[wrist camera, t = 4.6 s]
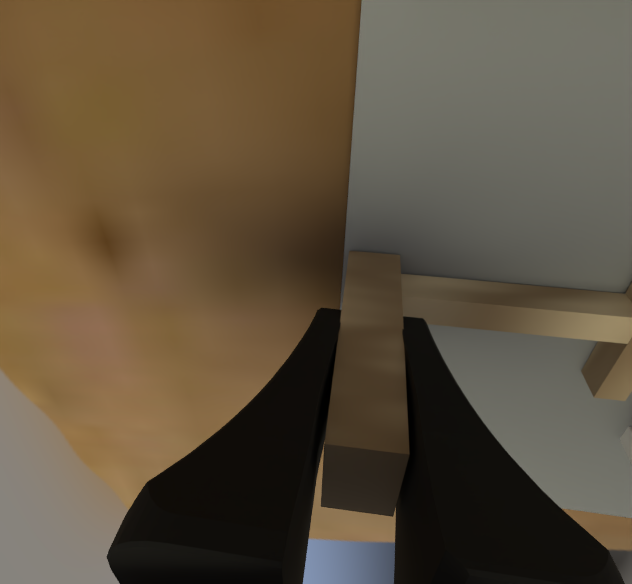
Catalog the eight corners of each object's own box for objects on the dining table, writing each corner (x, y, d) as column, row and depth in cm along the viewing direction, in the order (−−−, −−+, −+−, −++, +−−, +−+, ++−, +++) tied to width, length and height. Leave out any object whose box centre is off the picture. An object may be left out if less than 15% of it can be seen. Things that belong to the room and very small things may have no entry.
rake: (705, 224, 12) (985, 453, 6) (610, 374, 15) (735, 603, 10) (353, 197, 13) (328, 380, 7) (341, 346, 16) (318, 542, 11)
